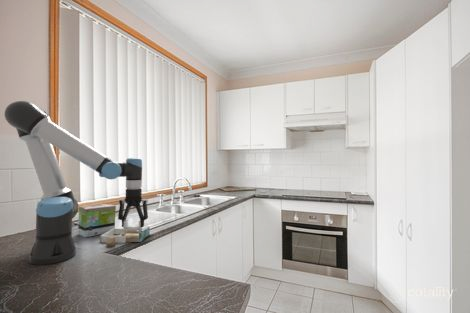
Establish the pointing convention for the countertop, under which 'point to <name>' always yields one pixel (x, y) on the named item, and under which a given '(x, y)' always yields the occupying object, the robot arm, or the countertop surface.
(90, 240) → the countertop surface
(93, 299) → the countertop surface
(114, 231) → the dock
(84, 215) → the tea box
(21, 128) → the robot arm
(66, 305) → the countertop surface
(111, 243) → the stand
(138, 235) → the tray
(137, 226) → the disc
